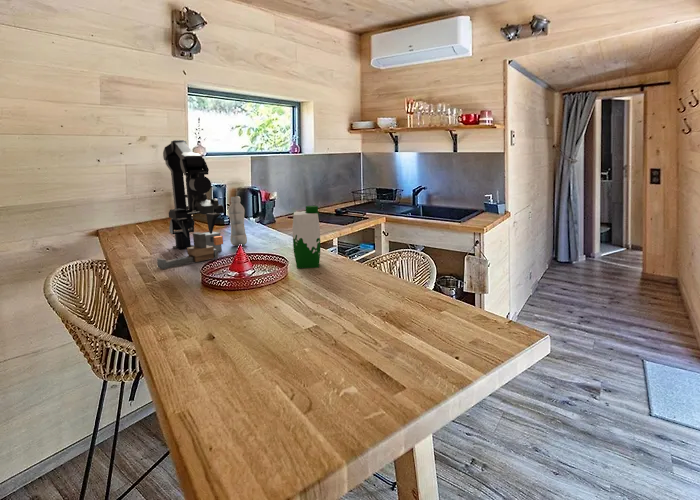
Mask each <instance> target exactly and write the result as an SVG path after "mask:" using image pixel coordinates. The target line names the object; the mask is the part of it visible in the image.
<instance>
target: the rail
mask: <svg viewBox="0 0 700 500" xmlns="http://www.w3.org/2000/svg"><path fill="white" fill-rule="evenodd" d="M213 254H214V258H213V259H218V258H219V257H218V251H217V249H214V253H213ZM192 263H193V264H194V263H196V262H195V258H194V256H183V257H179V258H173V259H168V260H166V259H165V258H163V257H158V258H156V264H157V268H158V269H161V270H167V269H168V268H169V269H170V268H175V267H178V266H182V265H183V266H184V265H188V264H192Z"/></svg>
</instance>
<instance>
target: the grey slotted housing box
mask: <svg viewBox="0 0 700 500" xmlns="http://www.w3.org/2000/svg"><path fill="white" fill-rule="evenodd" d="M202 233H203V234H205V237H206V245H208V246H213V247H214V249H217V252H222V251H223V249H222V244H221V245H214V242H212V241H211V239H210V237H217V236H222V235H221V233H220V232H218V231H213V232H212V234H210V233H209V231H208V232H207V231H206V232H202Z"/></svg>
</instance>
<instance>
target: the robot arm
mask: <svg viewBox="0 0 700 500" xmlns="http://www.w3.org/2000/svg"><path fill="white" fill-rule="evenodd" d="M162 158H163V161H165V166H166V167H167V168H168V170H170V174H171V175H170V176H171V184H172V185H171V186H172V196H173V204H174V209H173V208H172V209H169V210H168V218H170V220H169V228H168V229H169V233H170V234H171V235H174V241H175V245H174V246H171V247H172V248H173V249H177V250H185V249H187V248H189V247H194V244H192V243H191V242H192V241H191V236H190V235H191V234H190V233H195V220H194V218H193V217H192V216H193V215H198V214H201V215H206V216H205V217H206V221H207V229H208V232H209V233H210V234H212V232H214V228H215V224H216V221H217V219H218V217H220V216H222V214H223V213H224V214H225V207H224V206H223V204H219V200H218V198H211V199H208V197H207V194H206V193H208V192H210V190H211V188H212V182H211V180H210V179H209V178H208V177H207V176H205V175H209V167H208V165H207V161H206V160H205V158H204V157H203V156H202V154H200V153H197V152H193V151H192V149H191V148H190V146H189V145H188V144H187V141H186V140H183V139H182V140H181V139H178V140H177V139H175V140H171V141H170V143H169V144H167V145H166V146H164V149H163V152H162ZM184 176H185V177H184ZM184 178H185V179H184ZM185 186H186V187H185Z"/></svg>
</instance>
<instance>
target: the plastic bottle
mask: <svg viewBox="0 0 700 500" xmlns="http://www.w3.org/2000/svg"><path fill="white" fill-rule="evenodd" d="M230 202H231V204H230V205H229V207H228V209H227V212H228V216H229V221H230V222H229V223H230V244H231V245H232V246H235V247H239V246H238V245H239V244H242V246H245V245H246V244H247V242H248V237H247V236H248V235H247V234H246V227H245V213H246V211H245V207H244V205H242V204H241V197H240V196H230Z"/></svg>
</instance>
